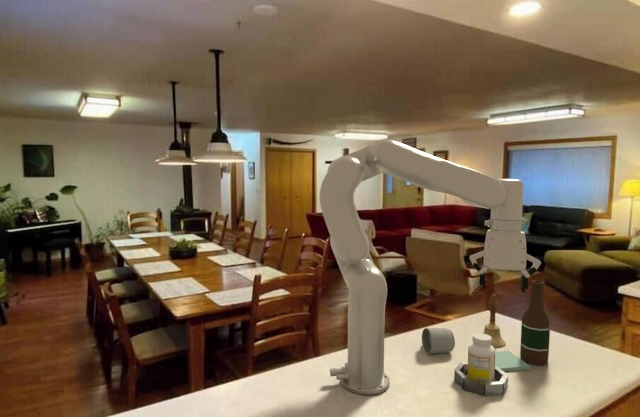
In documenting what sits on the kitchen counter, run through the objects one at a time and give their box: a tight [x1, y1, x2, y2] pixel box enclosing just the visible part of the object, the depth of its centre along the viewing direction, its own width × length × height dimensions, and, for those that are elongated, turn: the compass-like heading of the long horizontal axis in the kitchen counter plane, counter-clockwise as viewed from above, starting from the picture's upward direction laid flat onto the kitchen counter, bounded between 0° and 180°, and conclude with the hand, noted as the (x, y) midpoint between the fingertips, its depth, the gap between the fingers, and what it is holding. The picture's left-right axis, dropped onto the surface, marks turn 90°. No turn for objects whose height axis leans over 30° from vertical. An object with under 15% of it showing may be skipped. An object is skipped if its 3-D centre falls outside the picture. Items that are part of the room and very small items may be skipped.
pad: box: [495, 350, 531, 372], centre depth 121 cm, size 10×10×1 cm
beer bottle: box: [519, 279, 551, 367], centre depth 121 cm, size 8×8×24 cm
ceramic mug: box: [421, 327, 456, 355], centre depth 129 cm, size 11×8×8 cm
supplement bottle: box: [467, 332, 496, 383], centre depth 108 cm, size 7×7×13 cm
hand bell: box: [482, 293, 507, 348], centre depth 134 cm, size 8×8×16 cm
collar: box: [453, 361, 509, 398], centre depth 109 cm, size 12×12×3 cm
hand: (502, 289), depth 110 cm, fingers open, 9 cm apart
